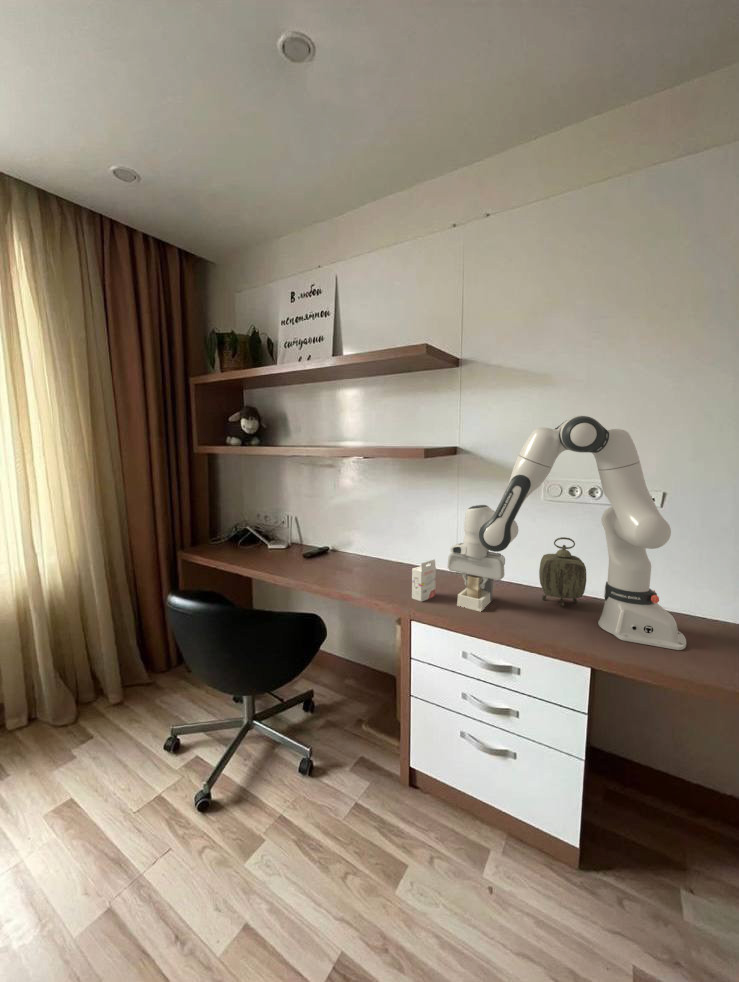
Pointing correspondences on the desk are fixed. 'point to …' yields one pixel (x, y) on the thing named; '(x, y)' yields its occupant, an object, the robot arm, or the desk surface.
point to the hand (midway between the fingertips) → (474, 586)
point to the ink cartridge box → (424, 581)
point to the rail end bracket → (474, 586)
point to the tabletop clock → (562, 574)
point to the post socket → (474, 602)
